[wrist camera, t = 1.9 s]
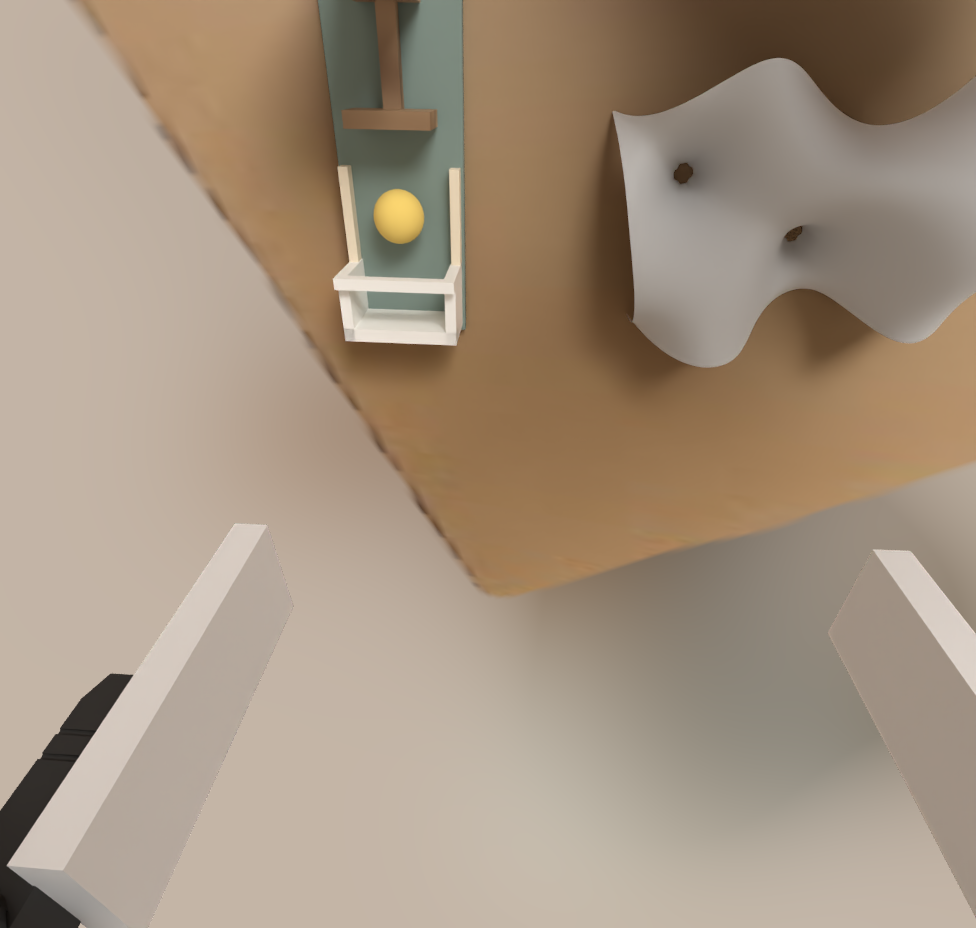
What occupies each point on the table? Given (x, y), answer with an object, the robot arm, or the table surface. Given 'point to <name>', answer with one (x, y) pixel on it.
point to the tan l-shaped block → (389, 81)
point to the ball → (398, 216)
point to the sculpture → (795, 211)
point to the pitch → (401, 141)
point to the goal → (399, 323)
